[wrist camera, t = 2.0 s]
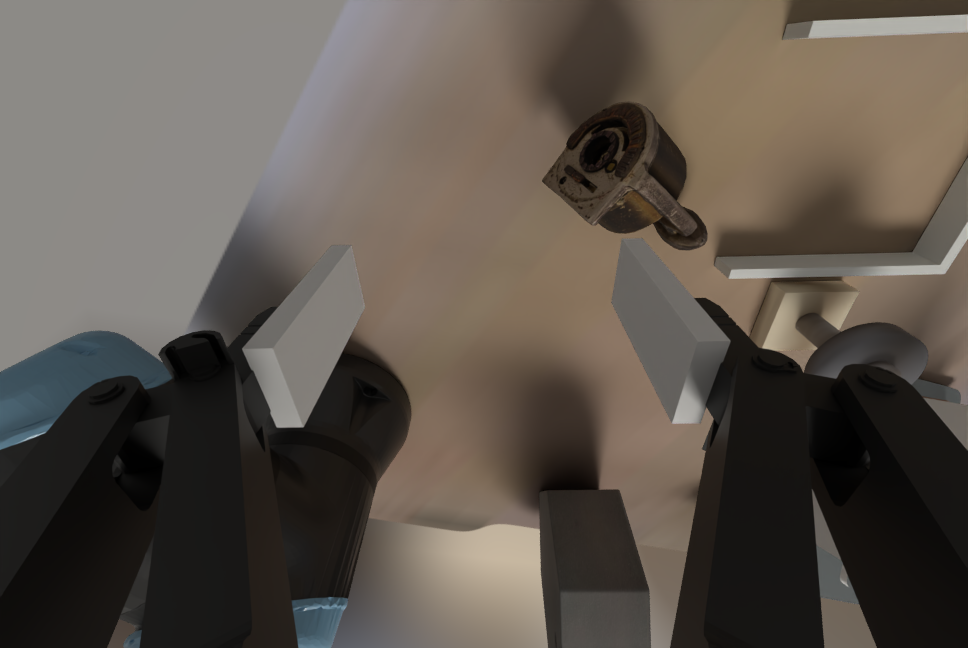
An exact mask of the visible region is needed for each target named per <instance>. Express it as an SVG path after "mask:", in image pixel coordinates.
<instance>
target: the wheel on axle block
mask: <svg viewBox="0 0 968 648" xmlns="http://www.w3.org/2000/svg"><path fill="white" fill-rule="evenodd" d="M859 292H860V291H858V290H856V289H855V288H853V287H852V286H850V285H848V284H847V283H845V282H844V281H795V282H771V285H770V287H769V290H768V292H767V295H766V297H765V300H764V302H763V305H762V307H761V310H760V312H759V315H758V317H757V320H756V322H755V325H754V327H753V330H752V332H751V335H750V337H749V338H750V339H751V340H752V341H753V342H754V343H755V344H756V345H757V346H758V347H759V348H764V349H770V350H773V351H785V350H816V351H815V352H814V353H813V354H812V356H811V357H810V359H809V360H808V362H807V364H806V366H805V370H804V373H807V374H812V375H818V376H824V377H829V378H835V379H836V378H837V377H838V375H839V373H840V372H841V370H842V369H843V367H844V366H846V365H850V364H866V365H871V366H877V367H881V368H884V369H885V370H886V369H887V370H889V371H891V372H893V373H895V374H896V375H898V376H900V377H902V378H903V379H905V380H906V381H908V382H909V383H910V384H911V385H912V384H913V383H914V382H915V381H916V380H917V379H918V378H919V376H920V375H921V374H922V372H923V371H924V369H925V367H926V365H927V361H928V351H927V348H926V346H925V345H924V344H923V343H922V342H921V341H920V340H918V339H917V338H915V337H914V336H912V335H910V334H909V333H907V332H906V331H904V330H903V329H901V328H900V327H898V326H896V325H893V324H890V323H881V322H876V323H867V324H862V325H858V326H855V327H852V328H849V329H847V330H844V331H842V332H841V331H839V329H840V327H841V325H842V323H843V321H844V320H845V318H846V316H847V314H848V312H849V310H850V308H851V307H852V305H853V303H854V301H855V299H856V297H857V295H858V294H859Z"/></svg>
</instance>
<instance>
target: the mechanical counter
mask: <svg viewBox="0 0 968 648" xmlns="http://www.w3.org/2000/svg"><path fill="white" fill-rule="evenodd" d="M566 144H567V146H566V148H565V150H564V151H563V152H562V154H561V155H560V157H559V158H558V159H557V161H556V162H555V163H554V165H553V166H552V167H551V169H550V170H549V172H548V173H547V174H546V176H545V177H544V178H543V180H542V182H543V183H544V184H545V185H547V186H548V187H549V188H550V189H551V190H553V191H554V192H555V193H556V194H558V195H559V196H560V197H561V198H562V199H563V200H564V201H565V202H566V203H567V204H569V205H570V206H571V207H572V208H573V209H574V210H575V211H576V212H577V213H578V214H579V215H580V216H581V217H582V218H584V219H585V220H586V221H587V222H588V223H590V224H591V225H597V224H598V223H599V224H600V225H601V226H603V227H604V228H606V229H607V230H609V231H612V232H614V233H624V234H627V233H632V232H635V231H638V230H641V229H643V228H645V227H647V226H649V225H650V224H652V223H653V224H654V226H655V228H656V230H657V233H658V234H659V235H660V237H661V238H662V239H663V240H664V241H665V242H666V243H668V244H669V245H671V246H672V247H673V248H676V249H678V250H693V249H696V248H699V247H701V246H703V245H704V244H705V243H706V241H707V230H706V226H705V225H704V223H703V222H702V220H701V219H700V218H699V216H698V215H697V214H696V213H695V212H693V211H692V210H689V209H687V208H685V207H682V206H681V205H680V204H679V203H678V202H677V199H678V197H679V195H680V193H681V191H682V189H683V187H684V183H685V180H686V161H685V158H684V156H683V155H682V153H681V152H680V150H679V148H678V147H677V146H676V144H675V143H674V142H673V141H672V140H671V138H670V137H669V136H668V135H667V133H666V132H665V131H664V130H663V128H662V127H661V126H660V125H659V124H658V123H657V121H656V119H655V117H654V116H653V114H652V113H651V112H650V111H649V110H648V109H647V108H646V107H645V106H643V105H641V104H639V103H634V102H621V103H616V104H614V105H612V106H609V107H607V108H605V109H603V110H602V111H600V112H598V113H597V114H595V115H594V116H592V117H591V118H589V119H588V120H587V121H585V122H584V123H583V124H581V126H580V127H579V128H578V129H577V130H576V131H575V132H574V133H573V134H572V135H571V136H570V137H569V139H568V141H567V143H566Z"/></svg>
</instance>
